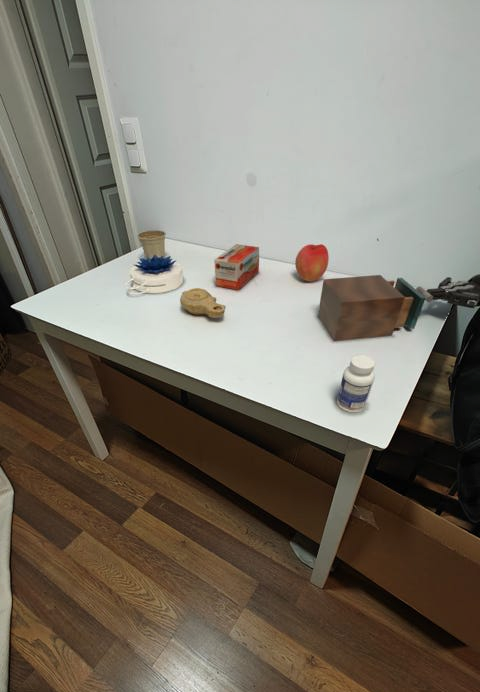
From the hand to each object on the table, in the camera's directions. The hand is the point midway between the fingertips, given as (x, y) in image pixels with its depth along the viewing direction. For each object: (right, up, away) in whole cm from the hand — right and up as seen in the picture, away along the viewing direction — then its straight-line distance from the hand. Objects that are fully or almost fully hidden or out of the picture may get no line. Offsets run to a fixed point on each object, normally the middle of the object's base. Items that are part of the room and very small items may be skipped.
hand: (426, 294), depth 83 cm
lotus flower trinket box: (-72, +11, +22) cm, 76 cm away
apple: (-24, +13, +23) cm, 36 cm away
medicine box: (-46, +14, +24) cm, 54 cm away
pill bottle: (-24, -28, -18) cm, 41 cm away
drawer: (-9, -5, +3) cm, 11 cm away
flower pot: (-75, +25, +35) cm, 87 cm away
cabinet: (-17, -7, +3) cm, 18 cm away
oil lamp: (-55, -2, +9) cm, 56 cm away
